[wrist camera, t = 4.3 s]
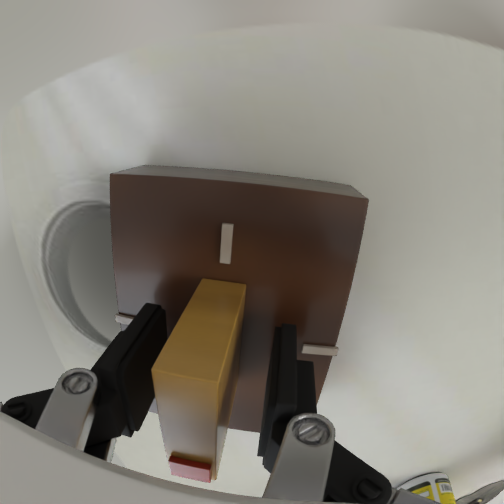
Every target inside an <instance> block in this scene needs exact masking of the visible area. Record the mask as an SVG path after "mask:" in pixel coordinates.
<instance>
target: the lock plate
mask: <svg viewBox="0 0 504 504" xmlns="http://www.w3.org/2000/svg"><path fill="white" fill-rule="evenodd" d="M368 202H369V199H368V198H366V197H365V196H364V195H362V194H361V193H360V192H359V191H357V190H356V189H355V188H354V187H352V186H351V185H345V184H338V183H332V182H325V181H318V180H311V179H303V178H295V177H287V176H279V175H270V174H261V173H251V172H241V171H230V170H218V169H206V168H191V167H175V166H154V165H143V166H138V167H134V168H130V169H127V170H123V171H119V172H115V173H111V174H110V215H111V234H112V235H111V236H112V251H113V264H114V276H115V285H116V294H117V303H118V311H119V314H116V315H115V318H116V322H118V323H120V325H121V331H124V330H125V329H126V328H127V326H128V325H129V324H130V322H131V321H132V320H133V319H134V317H135V316H136V315H137V313H138V312H139V311H140V310H141V308H142V307H143V306H144V305H145V304H146V303H152V304H158V305H161V307H162V309H165V311H166V323H167V339H168V338H169V336H170V335H171V333H172V331H173V329H174V327H175V326H176V324H177V322H178V320H179V319H180V317H181V315H182V313H183V312H184V310H185V308H186V306H187V305H188V303H189V301H190V299H191V298H192V296H193V294H194V292H195V291H196V289H197V287H198V285H199V284H200V282H201V280H202V279H211V280H218V281H225V282H233V283H240V284H246V295H245V306H244V316H243V327H242V338H241V349H240V360H239V371H238V381H237V388H236V393H235V397H234V402H233V407H232V411H231V416H230V420H229V425H228V428H230V429H236V430H243V431H251V432H259V433H260V430H261V422H262V414H263V405H264V396H265V387H266V380H267V374H268V368H269V362H270V356H271V350H272V344H273V338H274V331H275V326H277V327H281V324H282V323H285V324H294V325H296V327H297V360H305V361H313V364H314V376H315V390H316V405H317V402H318V399H319V396H320V393H321V390H322V387H323V384H324V381H325V378H326V375H327V372H328V369H329V365H330V362H331V359H332V356H336V355H337V352H338V347H335V345H336V342H337V338H338V335H339V331H340V328H341V324H342V320H343V317H344V313H345V309H346V305H347V301H348V297H349V293H350V289H351V285H352V281H353V276H354V272H355V268H356V263H357V259H358V254H359V249H360V244H361V240H362V235H363V230H364V224H365V219H366V214H367V208H368ZM149 411H150V412H153V413H157V414H158V410H157V404H156V398H154V400H153V402H152V404H151V406H150V409H149Z"/></svg>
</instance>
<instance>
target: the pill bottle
mask: <svg viewBox="0 0 504 504" xmlns="http://www.w3.org/2000/svg"><path fill="white" fill-rule="evenodd" d="M400 488H403V489H405V490H408V491H410V492H413V493H415V494H418V495H420V496H423V497H425V498H428V499H431V500H434V501H436V502H439V503H442V504H456V502H455V498H454V495H453V491H452V488H451V484H450V481H449V478H448V476H447V475H446V474H444V473H432V474H427V475H423V476H420V477H417V478H415V479H412V480H410V481H408V482H406V483H405V484H403V485H401V486H400V487H398V488H397V490H399V489H400Z"/></svg>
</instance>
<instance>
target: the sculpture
mask: <svg viewBox="0 0 504 504" xmlns="http://www.w3.org/2000/svg"><path fill="white" fill-rule="evenodd" d="M503 489H504V481H499V482H497V483H493V484H490V485H488V486H486V487H484V488H482V489H480V490H479V491H477V492H475V493H474V494H472V495H469V496H466V497H463V498H461V499H460V500H458V501H456V504H486V503H487V502H489V501H490V500H491V499H493V498H494V497H496V496H497V495H498V494H499V493H500V492H501V491H502V490H503Z"/></svg>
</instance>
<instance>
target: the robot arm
mask: <svg viewBox="0 0 504 504" xmlns="http://www.w3.org/2000/svg"><path fill="white" fill-rule="evenodd" d="M167 340H168V339H167V323H166V311H165V309H162V307H161V305H158V304H152V303H146V304H145V305H144V306H143V307H142V308H141V310H140V311H139V312H138V313H137V315H136V316H135V317H134V319H133V320H132V321H131V322H130V324H129V325H128V326H127V328H126V329H125V330H124V331H121V332H119V334H118V335H117V336H116V337H115V339H114V340H113V341H112V342H111V344H110V345H109V346H108V348H107V349H106V350H105V352H104V353H103V354H102V356H101V357H100V358H99V359H98V361H97V362H96V363H95V365H94V366H93V367H92V369H91V370H88V369H85V368H75V369H71V370H68V371H66V372H65V373H64V374H62V375H61V377H60V378H59V380H58V382H57V384H56V386H55V388H52V389H48V390H44V391H40V392H36V393H32V394H27V395H22V396H18V397H14V398H11V399H10V400H8V401H7V402H6V403H5V404H4V405H3V404H2V402H0V504H442V503H439V502H436V501H434V500H431V499H428V498H425V497H423V496H420V495H418V494H415V493H413V492H410V491H408V490H405V489H403V488H400V489H399V490H397V489H395V488H392V487H391V484H390V482H389V480H388V479H387V478H386V477H385V476H384V475H382V474H381V473H379V472H378V471H376V470H375V469H373V468H372V467H371V466H369V465H368V464H366V463H365V462H363V461H362V460H361V459H359V458H358V457H356V456H355V455H354V454H352V453H351V452H350V451H348V450H347V449H345V448H344V447H343V446H341V445H340V444H339V443H337V442H336V441H335V428H334V426H333V424H332V423H331V422H330V421H329V419H327V418H325V417H324V416H322V415H319V414H317V407H316V390H315V376H314V364H313V361H305V360H297V327H296V325H294V324H285V323H282V324H281V327H277V326H275V331H274V338H273V344H272V350H271V356H270V362H269V368H268V374H267V380H266V387H265V396H264V405H263V414H262V422H261V430H260V439H259V447H258V455H257V456H262V457H263V464H262V465H264V468H266V469H267V470H268V471H269V472H270V473H271V475H270V478H269V480H268V483H267V486H266V489H265V491H264V494H263V496H262V498H259V497H250V496H243V495H236V494H229V493H223V492H217V491H212V490H206V489H202V488H197V487H192V486H188V485H183V484H179V483H175V482H171V481H167V480H163V479H160V478H156V477H153V476H149V475H146V474H142V473H139V472H136V471H133V470H130V469H127V468H124V467H121V466H118V465H115V464H112V463H111V461H112V457H113V452H114V448H115V444H116V437H119V436H121V434H122V435H125V436H128V437H132V435H133V433H134V431H139V429H140V427H141V425H142V423H143V421H144V419H145V417H146V415H147V413H148V411H149V409H150V406H151V404H152V402H153V400H154V398H155V392H154V385H153V378H152V371H151V369H152V367H153V365H154V363H155V361H156V360H157V358H158V356H159V354H160V352H161V351H162V349H163V347H164V345H165V343H166V342H167Z"/></svg>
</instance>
